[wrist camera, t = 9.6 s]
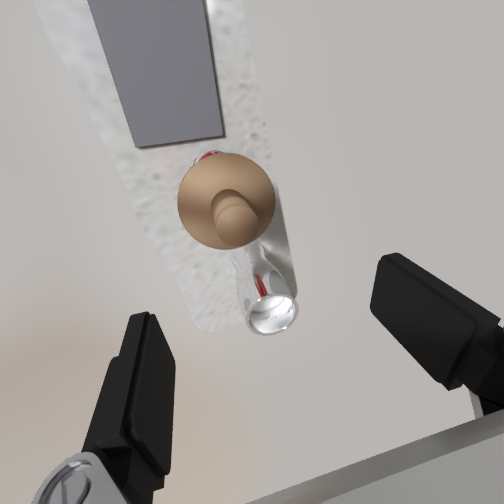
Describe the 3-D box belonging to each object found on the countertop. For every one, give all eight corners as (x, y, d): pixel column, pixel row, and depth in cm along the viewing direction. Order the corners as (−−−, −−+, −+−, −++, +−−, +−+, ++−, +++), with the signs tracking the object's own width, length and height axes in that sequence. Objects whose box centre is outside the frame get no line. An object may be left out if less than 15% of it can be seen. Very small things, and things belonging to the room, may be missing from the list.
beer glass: (272, 260, 43) (307, 320, 31) (237, 278, 43) (258, 345, 31) (257, 229, 40) (289, 282, 27) (219, 249, 40) (234, 311, 27)
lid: (165, 160, 20) (158, 175, 15) (268, 145, 21) (294, 154, 16) (190, 253, 25) (191, 288, 20) (274, 235, 26) (295, 264, 21)
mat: (85, -10, 23) (83, -13, 23) (199, -16, 25) (199, -18, 24) (136, 146, 30) (135, 147, 30) (222, 134, 32) (223, 135, 31)
